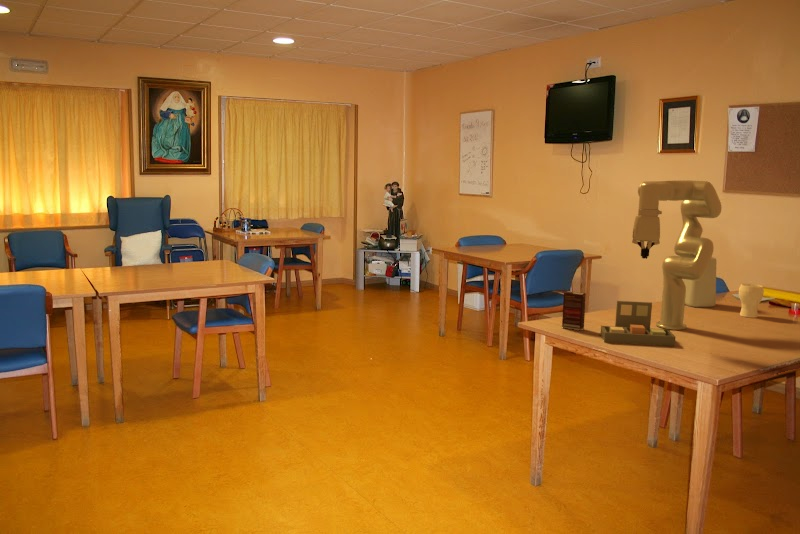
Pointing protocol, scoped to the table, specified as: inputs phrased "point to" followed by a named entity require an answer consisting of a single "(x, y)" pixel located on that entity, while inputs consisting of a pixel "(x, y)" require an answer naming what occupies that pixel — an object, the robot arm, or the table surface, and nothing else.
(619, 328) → the tan square block
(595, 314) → the table surface
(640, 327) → the terracotta key
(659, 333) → the olive square block
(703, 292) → the beige rounded canister
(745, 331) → the table surface
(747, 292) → the cup
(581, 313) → the supplement box
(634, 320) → the card
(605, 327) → the key pad frame
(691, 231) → the robot arm
